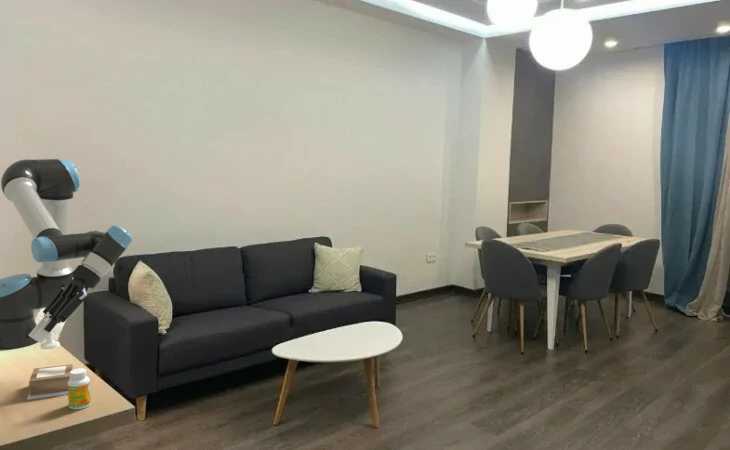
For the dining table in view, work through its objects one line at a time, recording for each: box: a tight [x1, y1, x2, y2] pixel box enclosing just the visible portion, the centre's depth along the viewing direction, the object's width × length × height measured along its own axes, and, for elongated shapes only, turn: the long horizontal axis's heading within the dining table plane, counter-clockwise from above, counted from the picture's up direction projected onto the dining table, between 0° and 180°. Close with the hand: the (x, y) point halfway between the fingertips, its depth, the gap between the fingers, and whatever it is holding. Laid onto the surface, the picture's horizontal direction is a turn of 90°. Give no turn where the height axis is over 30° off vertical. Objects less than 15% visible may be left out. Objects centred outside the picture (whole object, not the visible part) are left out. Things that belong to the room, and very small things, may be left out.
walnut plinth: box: [28, 363, 74, 396], centre depth 167 cm, size 10×10×5 cm
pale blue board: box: [27, 368, 75, 401], centre depth 170 cm, size 18×11×1 cm, turn 23°
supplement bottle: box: [67, 367, 92, 410], centre depth 156 cm, size 5×5×10 cm
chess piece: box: [40, 312, 61, 350], centre depth 165 cm, size 5×5×10 cm
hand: (34, 339), depth 163 cm, fingers closed on chess piece, 2 cm apart
